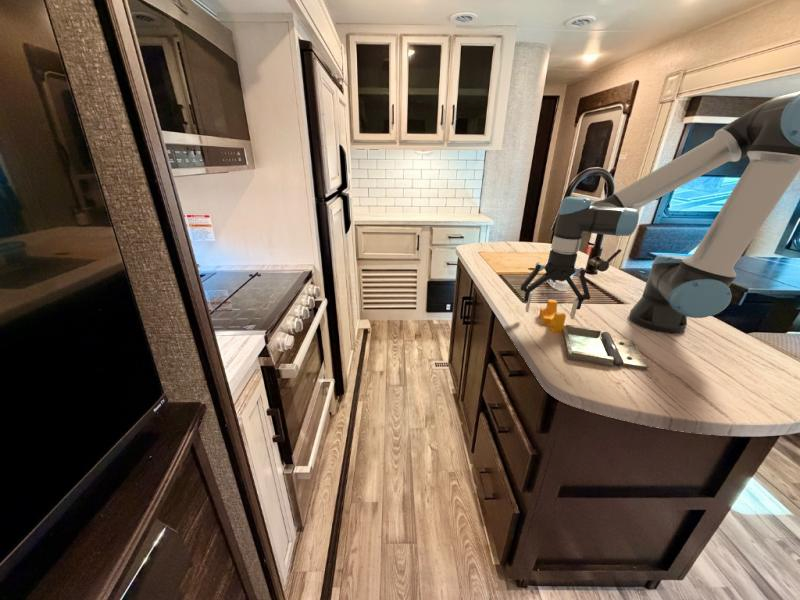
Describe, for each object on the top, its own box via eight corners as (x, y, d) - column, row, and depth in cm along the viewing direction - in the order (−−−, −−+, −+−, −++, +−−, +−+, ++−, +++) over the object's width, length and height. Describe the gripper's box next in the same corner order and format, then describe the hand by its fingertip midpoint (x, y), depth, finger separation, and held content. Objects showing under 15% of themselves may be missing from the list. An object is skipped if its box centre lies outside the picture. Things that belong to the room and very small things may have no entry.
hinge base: (630, 341, 97) (632, 334, 96) (649, 373, 82) (652, 365, 81) (561, 330, 102) (562, 324, 101) (567, 359, 88) (569, 352, 87)
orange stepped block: (539, 316, 112) (542, 299, 110) (552, 317, 112) (555, 300, 109) (546, 332, 101) (550, 314, 99) (561, 334, 101) (566, 315, 98)
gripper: (608, 252, 96) (589, 315, 105) (520, 243, 103) (509, 303, 112) (614, 259, 90) (593, 325, 98) (520, 249, 97) (508, 312, 106)
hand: (548, 314), depth 105 cm, fingers open, 13 cm apart
